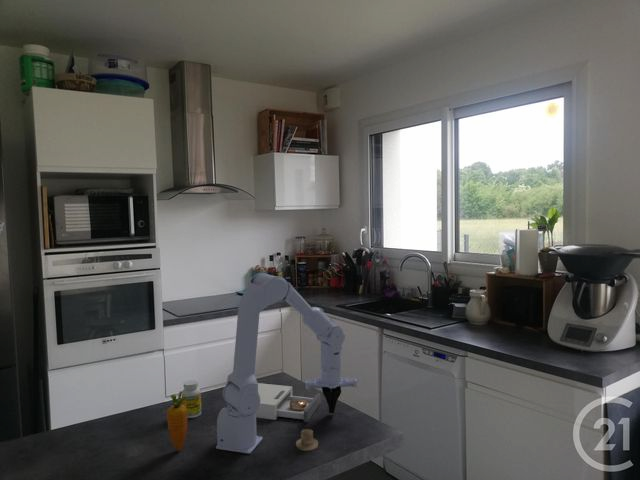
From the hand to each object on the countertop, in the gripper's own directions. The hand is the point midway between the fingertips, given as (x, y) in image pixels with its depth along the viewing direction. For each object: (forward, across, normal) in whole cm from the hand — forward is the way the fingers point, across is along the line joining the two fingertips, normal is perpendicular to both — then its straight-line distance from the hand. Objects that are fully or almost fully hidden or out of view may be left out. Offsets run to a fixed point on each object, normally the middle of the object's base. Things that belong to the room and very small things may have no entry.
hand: (331, 411), depth 136 cm
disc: (0, -10, +4) cm, 10 cm away
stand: (+1, -8, -16) cm, 18 cm away
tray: (+1, -11, +4) cm, 12 cm away
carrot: (+1, -40, -15) cm, 43 cm away
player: (+1, -20, +8) cm, 22 cm away
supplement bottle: (+1, -40, +5) cm, 41 cm away
